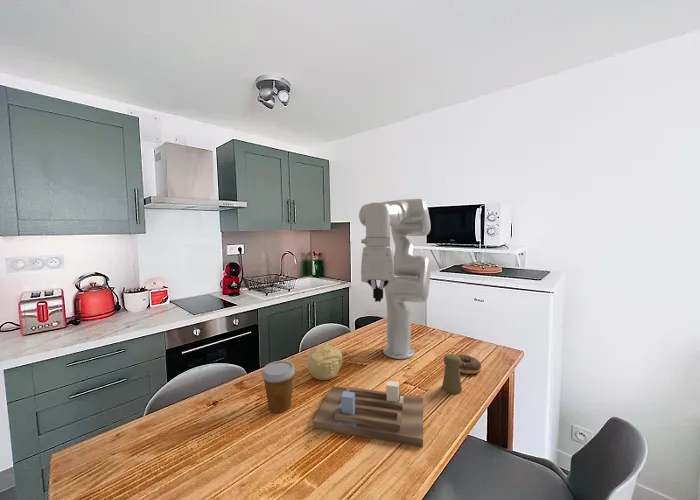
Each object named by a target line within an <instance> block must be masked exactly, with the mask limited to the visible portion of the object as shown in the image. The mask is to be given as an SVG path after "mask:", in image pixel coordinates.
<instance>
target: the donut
mask: <svg viewBox="0 0 700 500" xmlns="http://www.w3.org/2000/svg"><path fill="white" fill-rule="evenodd" d="M456 355H457V356H459V358H460V359H461V365H460V367H459V370H460V374H467V375H473V374H477V373H479V372H481V369H482V364H481V362H480V360H479V359H477V358H475V357H474V356H471V355H469V354H468V355H467V354H456Z"/></svg>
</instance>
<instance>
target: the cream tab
mask: <svg viewBox="0 0 700 500" xmlns="http://www.w3.org/2000/svg"><path fill="white" fill-rule="evenodd" d="M399 385H400V382H399V381H394V380H387V382H386V392H387V401H391V402H399V394H400V391H399V390H400V388H399V387H400V386H399Z"/></svg>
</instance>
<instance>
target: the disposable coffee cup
mask: <svg viewBox="0 0 700 500" xmlns="http://www.w3.org/2000/svg"><path fill="white" fill-rule="evenodd" d="M295 373H296V368H295V367H294V364H293V363H292V362H291V361H288V360H276V361H272V362H270V363H267V364H266V365H265V366H264V367H263V369H262V371H261V377H262V379H263V382H264V383H263V384H264V388H265V393H266V401H267V406H268V410H269V412H271V413H274V414H281V413H285V412H286V411H288V410H289V409H290V408H291V406H292V405H291V404H292V395H293V394H292V393H293V385H294V384H293V383H294V375H295Z"/></svg>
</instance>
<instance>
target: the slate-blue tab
mask: <svg viewBox="0 0 700 500" xmlns="http://www.w3.org/2000/svg"><path fill="white" fill-rule="evenodd" d="M341 413H345V414H352V415H354V414H355V392H347V391H343V393H342V395H341Z"/></svg>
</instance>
